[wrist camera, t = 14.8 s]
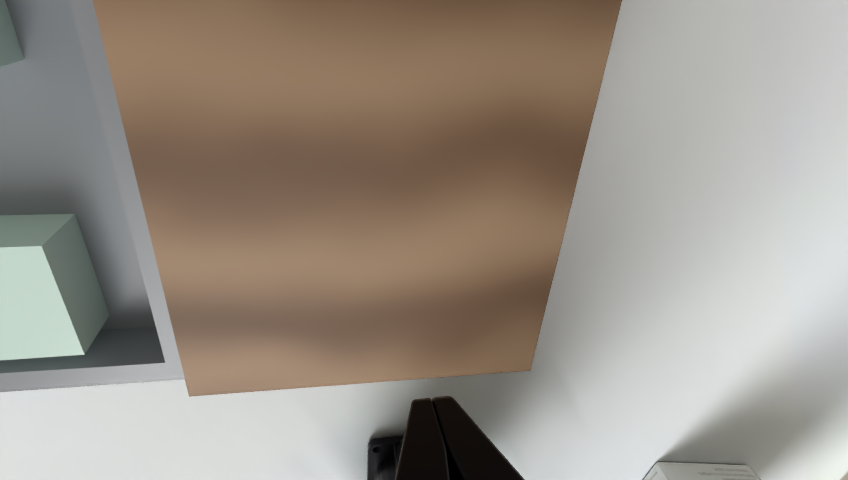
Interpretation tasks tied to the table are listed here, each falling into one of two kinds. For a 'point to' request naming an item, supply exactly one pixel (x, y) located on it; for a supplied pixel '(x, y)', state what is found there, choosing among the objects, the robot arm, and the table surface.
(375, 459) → the robot arm
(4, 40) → the tile
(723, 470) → the supplement box
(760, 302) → the table surface
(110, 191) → the box
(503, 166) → the tan bevelled block
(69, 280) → the tile
